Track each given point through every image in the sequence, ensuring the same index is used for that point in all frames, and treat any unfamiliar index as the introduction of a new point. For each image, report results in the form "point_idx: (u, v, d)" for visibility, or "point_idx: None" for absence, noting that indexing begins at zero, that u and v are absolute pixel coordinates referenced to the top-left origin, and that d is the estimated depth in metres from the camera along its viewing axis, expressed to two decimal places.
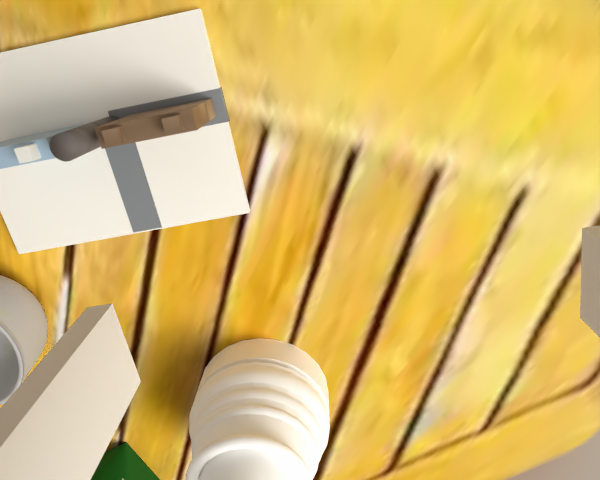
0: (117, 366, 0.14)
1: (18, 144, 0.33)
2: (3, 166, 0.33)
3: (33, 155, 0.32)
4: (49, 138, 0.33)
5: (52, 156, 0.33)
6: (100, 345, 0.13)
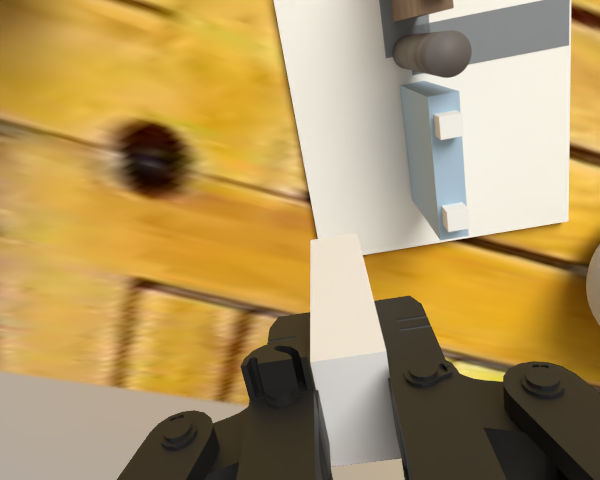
0: None
1: (432, 140, 0.23)
2: (461, 170, 0.23)
3: (453, 113, 0.21)
4: (428, 95, 0.22)
5: (455, 92, 0.22)
6: None
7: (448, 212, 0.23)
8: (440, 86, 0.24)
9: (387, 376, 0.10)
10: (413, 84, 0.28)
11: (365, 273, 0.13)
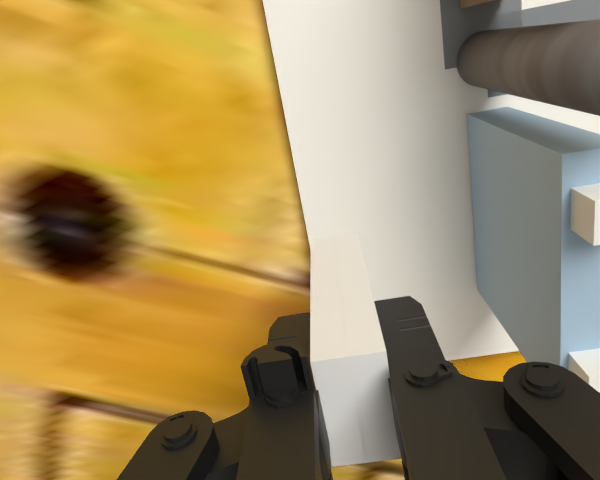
0: None
1: (564, 238, 0.11)
2: None
3: None
4: (559, 150, 0.11)
5: None
6: None
7: (591, 377, 0.12)
8: (560, 124, 0.13)
9: (387, 376, 0.10)
10: (493, 114, 0.16)
11: (365, 273, 0.13)
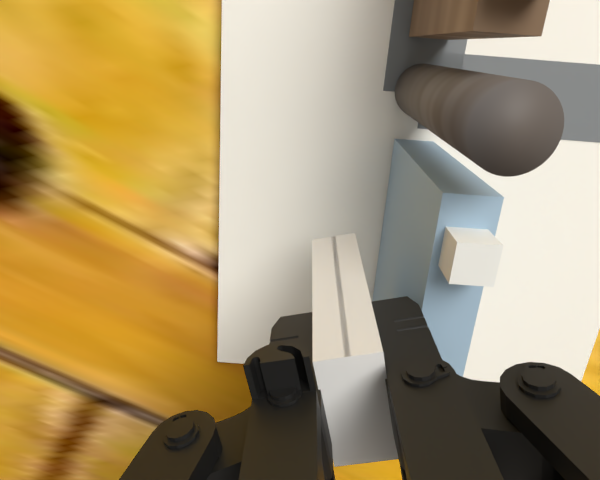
0: None
1: (431, 272, 0.12)
2: (468, 332, 0.13)
3: (485, 241, 0.11)
4: (443, 188, 0.12)
5: (497, 198, 0.11)
6: None
7: None
8: (463, 167, 0.14)
9: (384, 377, 0.10)
10: (416, 144, 0.17)
11: (363, 274, 0.13)
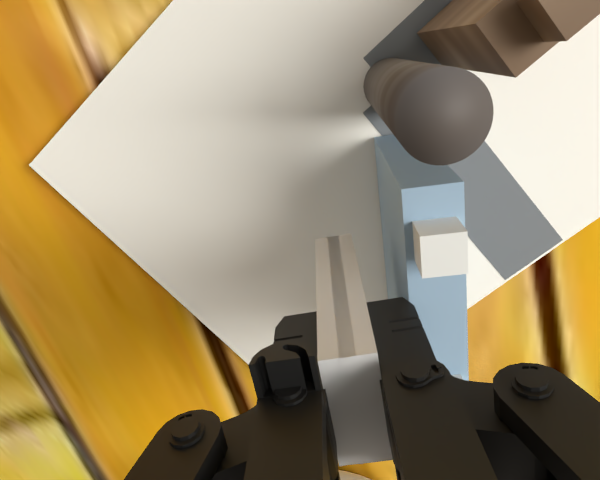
0: None
1: (409, 268, 0.12)
2: (462, 321, 0.12)
3: (449, 229, 0.11)
4: (403, 184, 0.12)
5: (457, 184, 0.11)
6: None
7: None
8: None
9: (378, 378, 0.10)
10: (393, 139, 0.17)
11: (358, 274, 0.13)
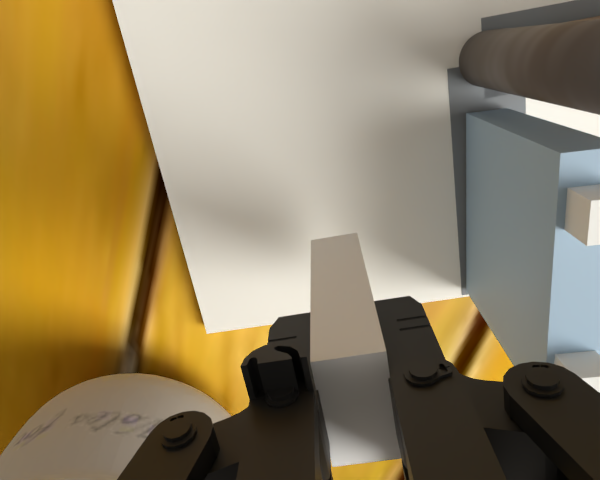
0: None
1: (557, 238, 0.11)
2: None
3: None
4: (557, 149, 0.11)
5: None
6: None
7: None
8: (559, 126, 0.13)
9: (387, 376, 0.10)
10: (492, 114, 0.16)
11: (365, 273, 0.13)
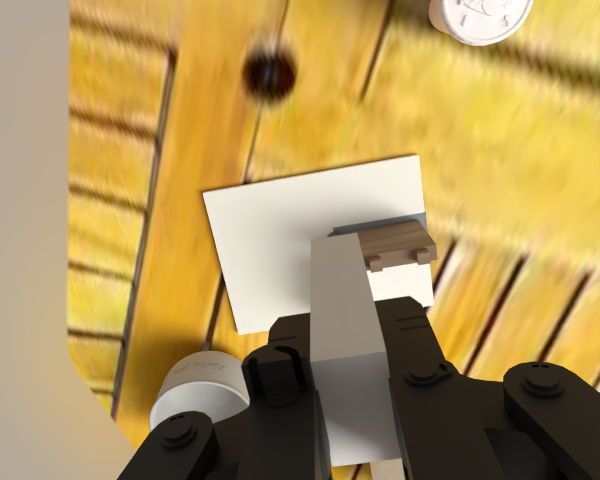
0: None
1: None
2: None
3: None
4: None
5: None
6: None
7: None
8: None
9: (387, 376, 0.10)
10: None
11: (365, 273, 0.13)
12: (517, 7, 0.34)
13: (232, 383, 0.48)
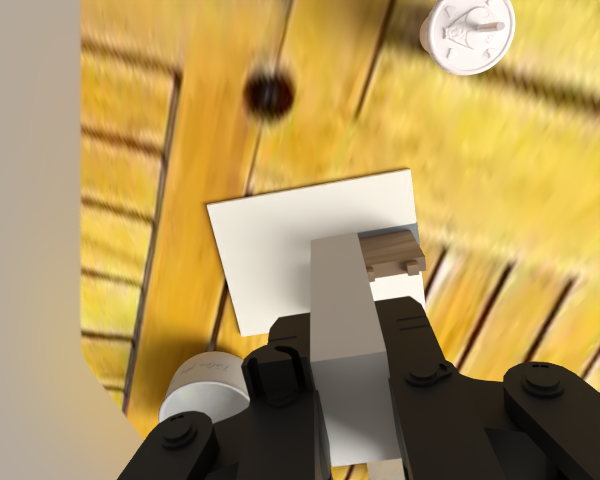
0: None
1: None
2: None
3: None
4: None
5: None
6: None
7: None
8: None
9: (387, 376, 0.10)
10: None
11: (365, 273, 0.13)
12: (499, 41, 0.36)
13: (235, 383, 0.51)
